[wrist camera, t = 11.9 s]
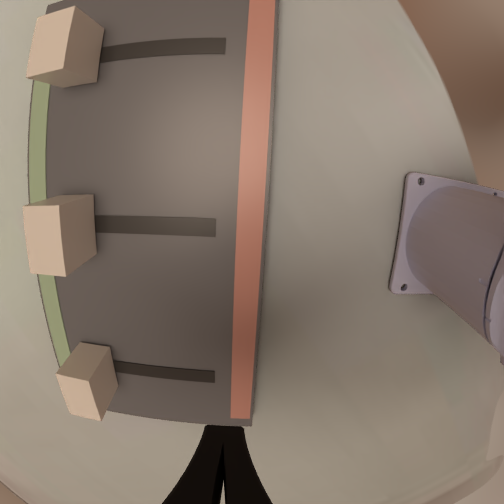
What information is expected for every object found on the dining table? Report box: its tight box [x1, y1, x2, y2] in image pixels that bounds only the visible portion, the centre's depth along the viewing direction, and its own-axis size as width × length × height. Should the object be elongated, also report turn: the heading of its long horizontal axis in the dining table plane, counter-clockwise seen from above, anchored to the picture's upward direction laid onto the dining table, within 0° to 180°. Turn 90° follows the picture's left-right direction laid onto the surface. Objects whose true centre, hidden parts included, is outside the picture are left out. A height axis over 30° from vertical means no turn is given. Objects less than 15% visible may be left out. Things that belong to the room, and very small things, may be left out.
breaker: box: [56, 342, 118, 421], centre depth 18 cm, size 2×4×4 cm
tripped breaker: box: [26, 6, 104, 88], centre depth 12 cm, size 2×4×4 cm
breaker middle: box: [23, 194, 97, 277], centre depth 15 cm, size 2×4×4 cm
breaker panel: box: [28, 0, 279, 426], centre depth 18 cm, size 15×30×2 cm, turn 177°
